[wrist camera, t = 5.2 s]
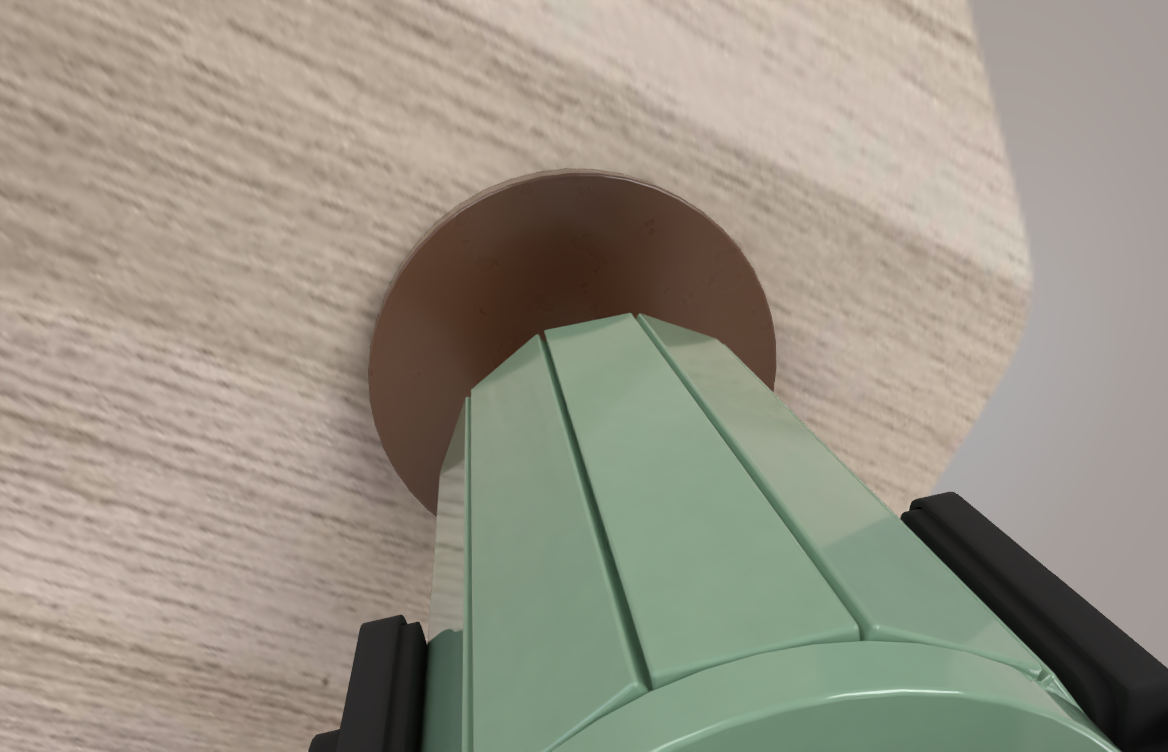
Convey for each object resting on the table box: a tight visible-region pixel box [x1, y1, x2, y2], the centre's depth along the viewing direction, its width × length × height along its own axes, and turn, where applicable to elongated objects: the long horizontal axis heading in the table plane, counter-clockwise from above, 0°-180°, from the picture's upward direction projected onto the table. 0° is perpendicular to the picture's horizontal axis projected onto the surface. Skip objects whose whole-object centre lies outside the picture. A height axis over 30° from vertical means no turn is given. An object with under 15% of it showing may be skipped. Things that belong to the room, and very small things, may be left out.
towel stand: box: [368, 169, 776, 516], centre depth 15 cm, size 11×11×16 cm
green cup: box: [420, 313, 1121, 752], centre depth 11 cm, size 7×7×10 cm
